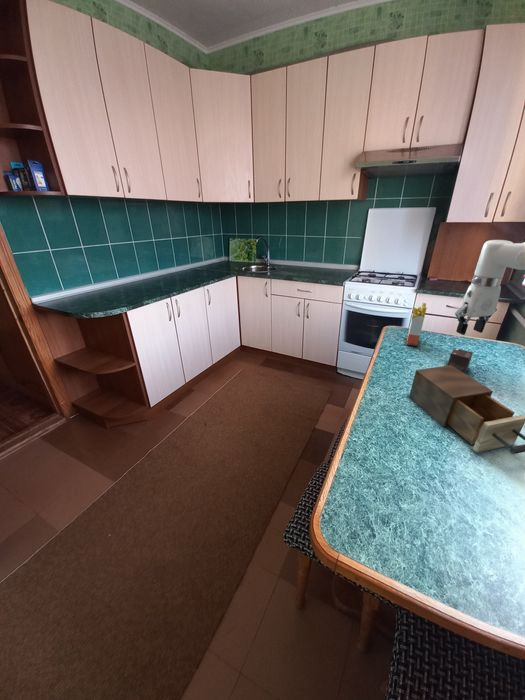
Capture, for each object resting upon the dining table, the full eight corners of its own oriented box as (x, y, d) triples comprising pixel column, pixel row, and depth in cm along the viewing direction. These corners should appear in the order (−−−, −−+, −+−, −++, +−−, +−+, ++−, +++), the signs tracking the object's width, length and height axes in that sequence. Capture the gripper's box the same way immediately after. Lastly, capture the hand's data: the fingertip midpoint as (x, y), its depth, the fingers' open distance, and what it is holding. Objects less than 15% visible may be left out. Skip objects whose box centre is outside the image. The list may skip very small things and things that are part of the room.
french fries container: (404, 347, 126) (413, 307, 117) (406, 337, 134) (414, 300, 126) (416, 349, 124) (426, 309, 116) (417, 339, 132) (426, 301, 124)
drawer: (538, 462, 69) (554, 434, 65) (498, 472, 67) (513, 443, 63) (469, 411, 86) (479, 387, 82) (436, 417, 84) (444, 392, 80)
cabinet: (480, 421, 83) (493, 391, 79) (442, 428, 81) (453, 397, 76) (441, 392, 96) (450, 364, 91) (408, 398, 94) (415, 369, 89)
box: (463, 376, 104) (470, 358, 101) (445, 370, 108) (450, 353, 105) (467, 369, 108) (473, 352, 105) (449, 364, 112) (454, 347, 109)
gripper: (473, 286, 88) (456, 339, 96) (519, 282, 91) (499, 333, 100) (454, 280, 95) (439, 330, 103) (497, 276, 98) (480, 325, 106)
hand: (469, 331), depth 101 cm, fingers open, 6 cm apart
